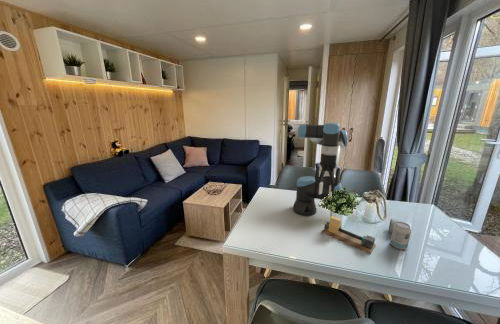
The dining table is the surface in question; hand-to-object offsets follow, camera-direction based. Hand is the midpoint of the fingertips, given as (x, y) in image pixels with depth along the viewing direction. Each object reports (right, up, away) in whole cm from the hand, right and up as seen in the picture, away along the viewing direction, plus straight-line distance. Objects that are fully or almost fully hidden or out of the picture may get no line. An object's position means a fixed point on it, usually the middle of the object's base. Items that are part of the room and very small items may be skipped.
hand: (325, 195), depth 110 cm
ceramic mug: (+40, -21, +1) cm, 45 cm away
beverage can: (+33, -24, -10) cm, 42 cm away
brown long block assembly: (+10, -23, -4) cm, 25 cm away
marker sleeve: (+5, -20, 0) cm, 20 cm away
